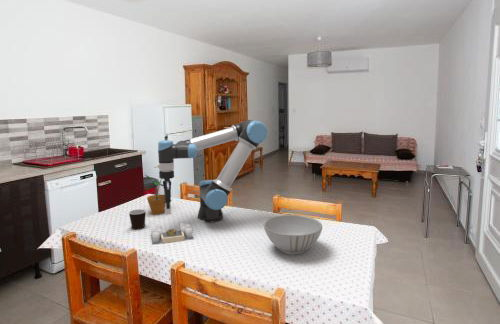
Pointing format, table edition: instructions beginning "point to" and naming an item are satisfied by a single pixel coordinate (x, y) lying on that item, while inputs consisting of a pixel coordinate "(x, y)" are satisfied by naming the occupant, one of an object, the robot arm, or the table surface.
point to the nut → (171, 232)
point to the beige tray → (181, 235)
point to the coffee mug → (137, 219)
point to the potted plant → (156, 199)
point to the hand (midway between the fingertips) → (168, 214)
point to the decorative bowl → (292, 232)
